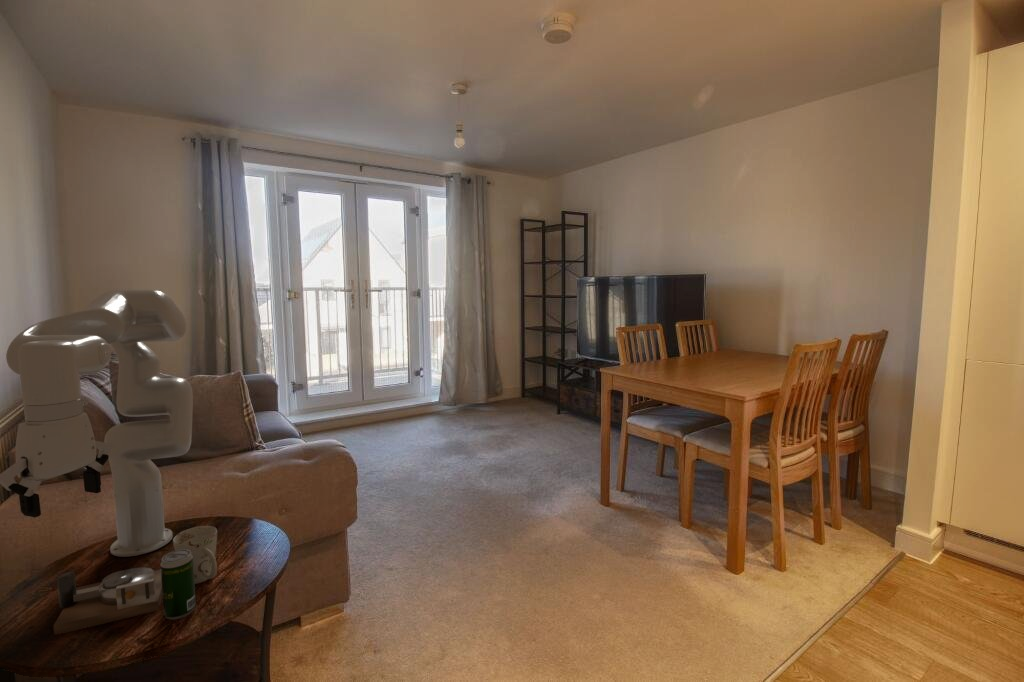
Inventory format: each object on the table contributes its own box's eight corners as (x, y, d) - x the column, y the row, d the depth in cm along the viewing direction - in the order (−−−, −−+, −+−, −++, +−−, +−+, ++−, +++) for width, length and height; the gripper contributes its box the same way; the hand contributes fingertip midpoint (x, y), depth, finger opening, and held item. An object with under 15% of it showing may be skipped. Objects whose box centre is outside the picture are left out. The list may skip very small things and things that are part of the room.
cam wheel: (158, 573, 108) (156, 547, 107) (150, 596, 100) (148, 569, 99) (67, 592, 101) (65, 565, 100) (51, 619, 93) (48, 589, 92)
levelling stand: (76, 596, 103) (74, 567, 102) (168, 576, 111) (166, 549, 110) (53, 637, 91) (49, 605, 90) (157, 612, 98) (155, 582, 98)
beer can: (201, 602, 102) (198, 547, 100) (187, 620, 96) (183, 562, 95) (174, 604, 101) (170, 549, 100) (158, 621, 96) (153, 563, 94)
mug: (207, 562, 116) (204, 522, 115) (238, 578, 110) (235, 536, 109) (168, 580, 109) (165, 538, 108) (199, 598, 103) (196, 554, 102)
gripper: (91, 397, 95) (99, 482, 97) (-25, 422, 79) (-12, 523, 81) (120, 400, 93) (128, 486, 96) (8, 426, 77) (21, 529, 79)
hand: (64, 503), depth 88 cm, fingers open, 9 cm apart
